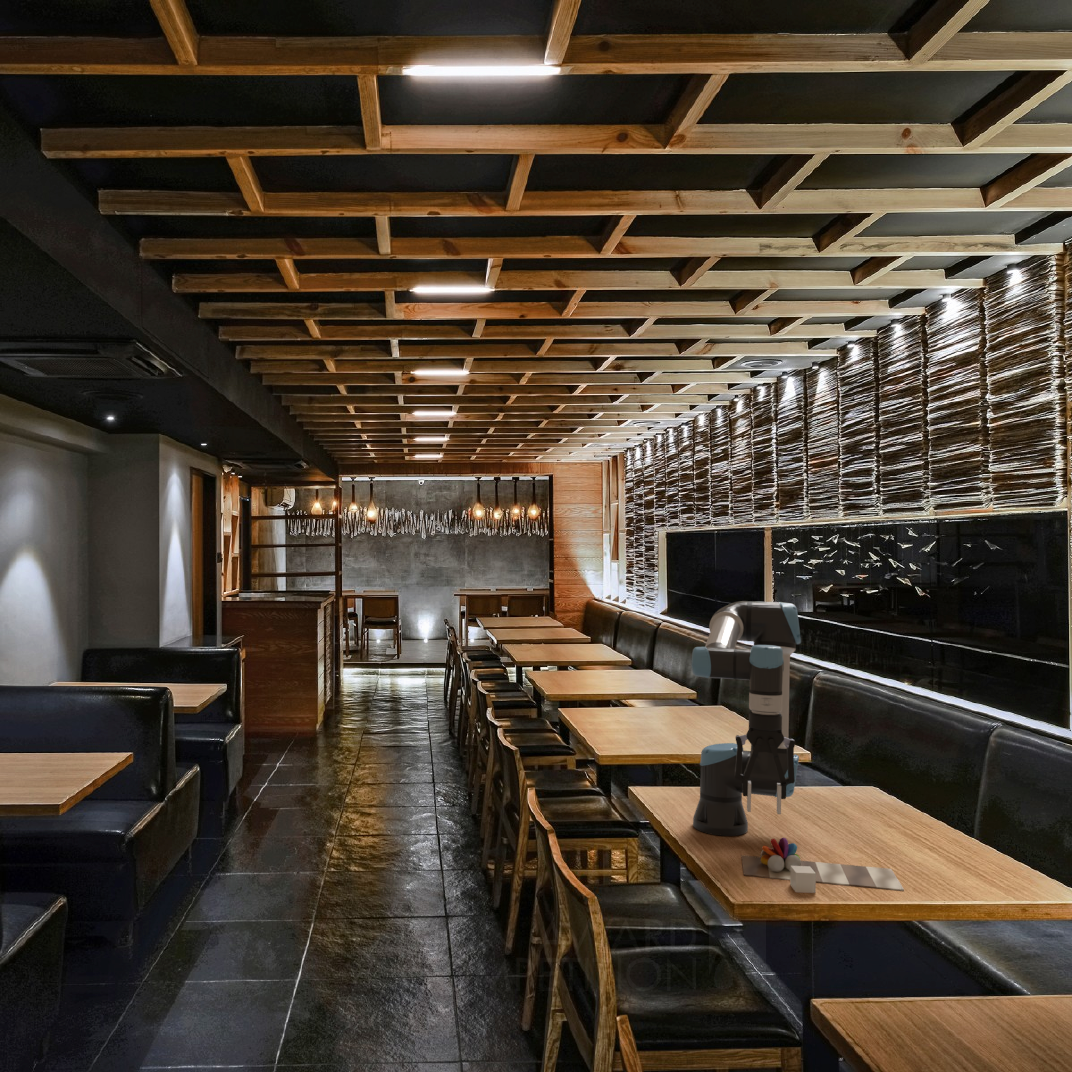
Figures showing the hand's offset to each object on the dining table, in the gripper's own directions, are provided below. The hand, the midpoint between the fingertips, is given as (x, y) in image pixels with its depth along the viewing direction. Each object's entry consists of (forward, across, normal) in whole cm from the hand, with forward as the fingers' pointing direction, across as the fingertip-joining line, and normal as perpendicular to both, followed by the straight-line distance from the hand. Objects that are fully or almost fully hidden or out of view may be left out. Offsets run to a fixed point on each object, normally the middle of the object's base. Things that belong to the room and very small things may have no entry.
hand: (763, 811), depth 199 cm
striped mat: (+17, +14, +12) cm, 25 cm away
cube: (+17, +9, 0) cm, 19 cm away
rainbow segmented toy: (+17, +5, +12) cm, 21 cm away
